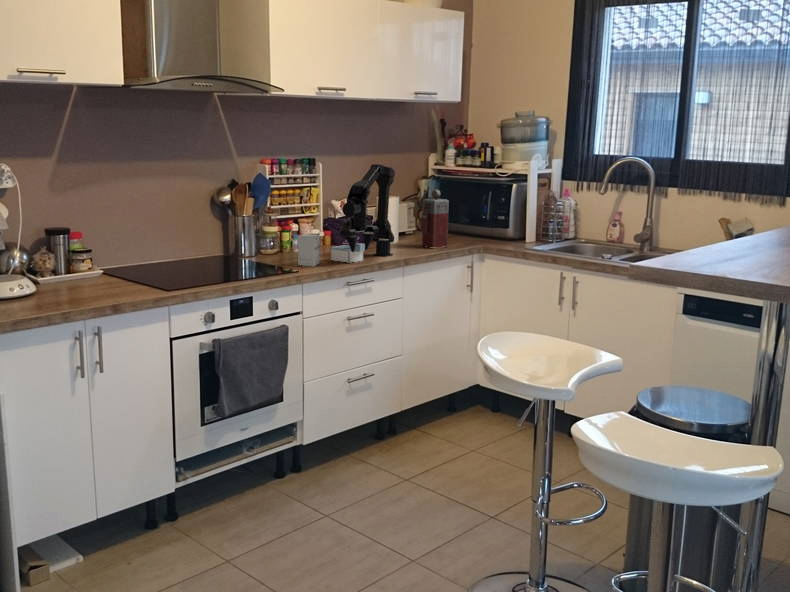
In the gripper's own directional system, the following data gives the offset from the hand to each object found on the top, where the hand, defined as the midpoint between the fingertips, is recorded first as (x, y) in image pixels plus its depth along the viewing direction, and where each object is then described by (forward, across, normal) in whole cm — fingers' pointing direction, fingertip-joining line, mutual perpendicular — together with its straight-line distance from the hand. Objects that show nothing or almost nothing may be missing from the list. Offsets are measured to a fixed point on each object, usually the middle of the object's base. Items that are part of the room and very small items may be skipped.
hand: (359, 250), depth 342 cm
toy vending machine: (+5, -59, -5) cm, 59 cm away
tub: (+5, 0, -7) cm, 9 cm away
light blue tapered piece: (+1, 0, -5) cm, 6 cm away
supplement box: (+5, +19, -11) cm, 23 cm away
